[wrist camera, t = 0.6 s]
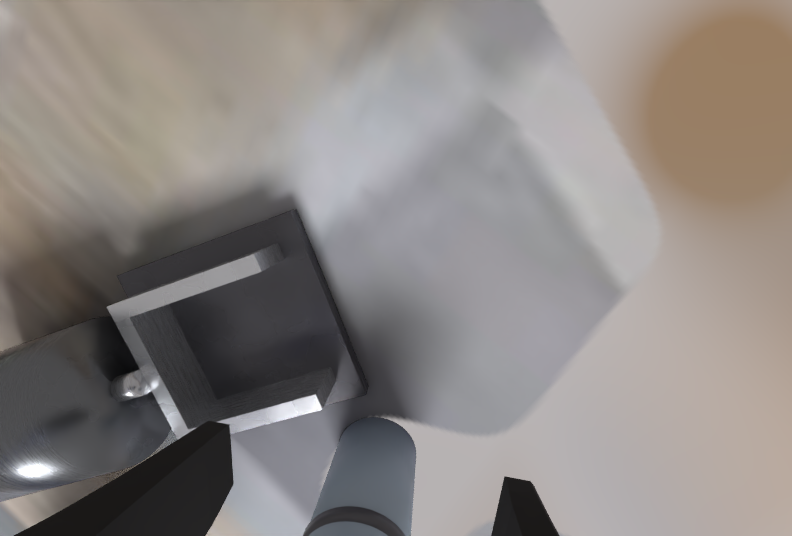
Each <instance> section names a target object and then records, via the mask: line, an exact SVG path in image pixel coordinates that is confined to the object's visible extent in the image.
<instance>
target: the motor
mask: <svg viewBox="0 0 792 536" xmlns="http://www.w3.org/2000/svg"><path fill="white" fill-rule="evenodd" d="M117 277H118V279H119V281H120V283H121V285H122V287H123V289H124V291H125V293H126V294H127V296H128V298H127V299H124V300H122V301H119V302H117V303H114V304H112V305H109V306H107V309H108V311H109V313H110V314H111V316H110V317H100V318H95V319H91V320H89V321H86V322H83V323H80V324H77V325H74V326H71V327H69V328H66V329H63V330H60V331H57V332H55V333H52V334H49V335H46V336H43V337H40V338H38V339H35V340H32V341H29V342H26V343H23V344H21V345H18V346H15V347H12V348H9V349H6V350H4V351H1V352H0V502H1V501H5V500H9V499H13V498H16V497H20V496H24V495H28V494H32V493H35V492H39V491H43V490H47V489H51V488H54V487H58V486H62V485H66V484H69V483H73V482H77V481H81V480H85V479H88V478H92V477H96V476H100V475H104V474H107V473H111V472H115V471H119V470H123V469H126V468H129V467H131V466H134V465H136V464H138V463H140V462H141V461H143V460H144V459H146V458H147V457H149V456H150V455H151V454H152V453H153V452H154V451H156V450H157V448H158V447H159V446H160V445H161V444H162V443H163V441H164V440H165V438H166V437H167V436H168V434H169V432H170V430H171V428H172V430H173V432H174V433H175V435H176V437H177V439H180V438H181V437H183V436H184V435H186V434H188V433H189V432H191V431H192V430H194V429H195V428H197V427H199V426H200V425H202V424H204V423H205V422H207V421H214V422H219V423H224V424H230V434H233V433H236V432H240V431H244V430H248V429H251V428H255V427H259V426H263V425H266V424H270V423H274V422H277V421H281V420H285V419H289V418H292V417H296V416H300V415H304V414H307V413H311V412H315V411H319V410H322V409H323V407H324V406H326V405H329V404H333V403H337V402H340V401H344V400H348V399H352V398H355V397H359V396H363V395H366V393H367V389H368V384H367V381H366V379H365V377H364V374H363V372H362V369H361V367H360V364H359V362H358V359H357V357H356V354H355V352H354V350H353V347H352V345H351V342H350V340H349V337H348V335H347V332H346V330H345V328H344V325H343V323H342V320H341V318H340V315H339V313H338V310H337V308H336V305H335V303H334V301H333V298H332V296H331V293H330V291H329V288H328V286H327V283H326V281H325V278H324V276H323V274H322V271H321V269H320V266H319V264H318V261H317V259H316V256H315V254H314V251H313V249H312V247H311V244H310V242H309V239H308V237H307V234H306V232H305V229H304V227H303V224H302V222H301V220H300V217H299V215H298V212H297V210H292V211H289V212H286V213H284V214H281V215H278V216H276V217H273V218H270V219H268V220H265V221H262V222H260V223H257V224H254V225H252V226H249V227H246V228H244V229H241V230H238V231H235V232H233V233H230V234H227V235H225V236H222V237H219V238H217V239H214V240H211V241H209V242H206V243H203V244H201V245H198V246H195V247H193V248H190V249H187V250H185V251H182V252H179V253H177V254H174V255H171V256H169V257H166V258H163V259H160V260H158V261H155V262H152V263H150V264H147V265H144V266H142V267H139V268H136V269H134V270H131V271H128V272H126V273H123V274H120V275H118V276H117Z"/></svg>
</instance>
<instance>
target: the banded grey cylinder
mask: <svg viewBox="0 0 792 536" xmlns="http://www.w3.org/2000/svg"><path fill="white" fill-rule="evenodd" d="M415 464H416V448H415V445H414V442H413V440H412V438H411V436H410V435H409V434H408V433H407V431H406V430H405V429H404V428H403V427H401V426H400V425H398V424H397V423H395V422H393V421H390V420H388V419H384V418H378V417H370V418H364V419H361V420H358V421H356V422H354V423H352V424H351V425H350V426H348V427H347V428H346V430H345V431H344V432H343V434H342V436H341V438H340V441H339V444H338V446H337V449H336V452H335V455H334V458H333V460H332V463H331V466H330V469H329V472H328V474H327V477H326V480H325V483H324V486H323V488H322V491H321V494H320V497H319V499H318V502H317V505H316V508H315V511H314V513H313V516H312V519H311V522H310V523H309V524H308V526H307V528H306V529H305V532H304V534H303V536H411V523H412V508H413V493H414V478H415Z"/></svg>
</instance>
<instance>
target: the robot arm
mask: <svg viewBox="0 0 792 536" xmlns="http://www.w3.org/2000/svg"><path fill="white" fill-rule="evenodd" d="M232 486H233V469H232V454H231V439H230V424H224V423H219V422H214V421H207V422H205V423H204V424H202V425H200V426H199V427H197V428H195V429H194V430H192V431H191V432H189V433H188V434H186V435H184V436H183V437H181V438H180V439H178V440H177V441H175V442H174V443H172V444H170V445H169V446H167V447H166V448H164V449H163V450H161V451H160V452H158V453H156V454H155V455H153V456H152V457H150V458H148V459H147V460H145V461H144V462H142V463H140V464H139V465H137V466H136V467H134V468H133V469H131V470H129V471H128V472H126V473H125V474H123V475H121V476H120V477H118V478H116V479H115V480H113V481H111V482H110V483H108V484H106V485H104V486H103V487H101V488H99V489H98V490H96V491H94V492H92V493H91V494H89V495H87V496H86V497H84V498H82V499H80V500H79V501H77V502H75V503H74V504H72V505H70V506H69V507H67V508H65V509H63V510H61V511H60V512H58V513H56V514H54V515H52V516H51V517H49V518H47V519H45V520H43V521H41V522H39V523H37V524H36V525H34V526H32V527H30V528H28V529H26V530H24V531H22V532H20V533H18V534H16V535H14V536H205V535H206V534H207V532H208V530H209V529H210V527H211V526H212V524H213V522H214V520H215V518H216V517H217V515H218V513H219V511H220V509H221V507H222V505H223V503H224V501H225V499H226V497H227V495H228V494H229V492H230V490H231V488H232ZM491 536H559V534H558V532H557V530H556V529H555V527H554V525H553V523H552V521H551V519H550V517H549V515H548V513H547V511H546V509H545V507H544V505H543V504H542V501H541V499H540V497H539V495H538V494H537V491H536V489H535V487H534V486H533V484H532V483H531V482H530V481H526V480H521V479H515V478H510V477H504V482H503V486H502V491H501V495H500V500H499V504H498V509H497V513H496V517H495V522H494V526H493V531H492V535H491Z"/></svg>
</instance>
